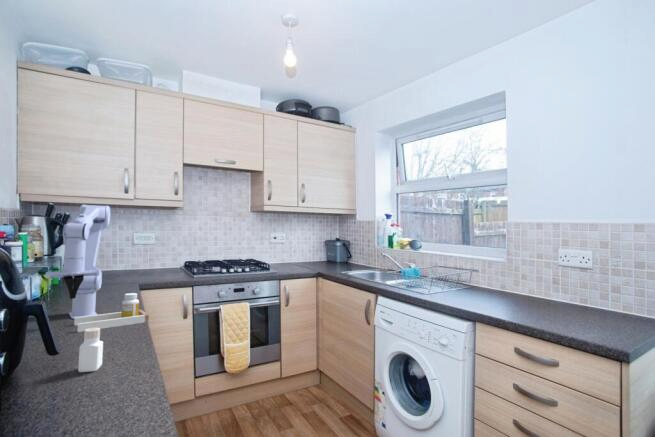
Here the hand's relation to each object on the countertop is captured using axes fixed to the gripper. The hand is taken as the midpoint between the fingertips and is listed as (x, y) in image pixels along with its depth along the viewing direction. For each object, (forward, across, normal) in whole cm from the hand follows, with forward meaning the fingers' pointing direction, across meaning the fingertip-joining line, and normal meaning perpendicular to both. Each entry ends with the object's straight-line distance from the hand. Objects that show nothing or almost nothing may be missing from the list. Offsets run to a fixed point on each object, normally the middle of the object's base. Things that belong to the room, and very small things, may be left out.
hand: (72, 298), depth 115 cm
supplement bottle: (+10, +17, -4) cm, 20 cm away
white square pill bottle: (+10, 0, -45) cm, 46 cm away
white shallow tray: (+9, +11, -4) cm, 15 cm away
